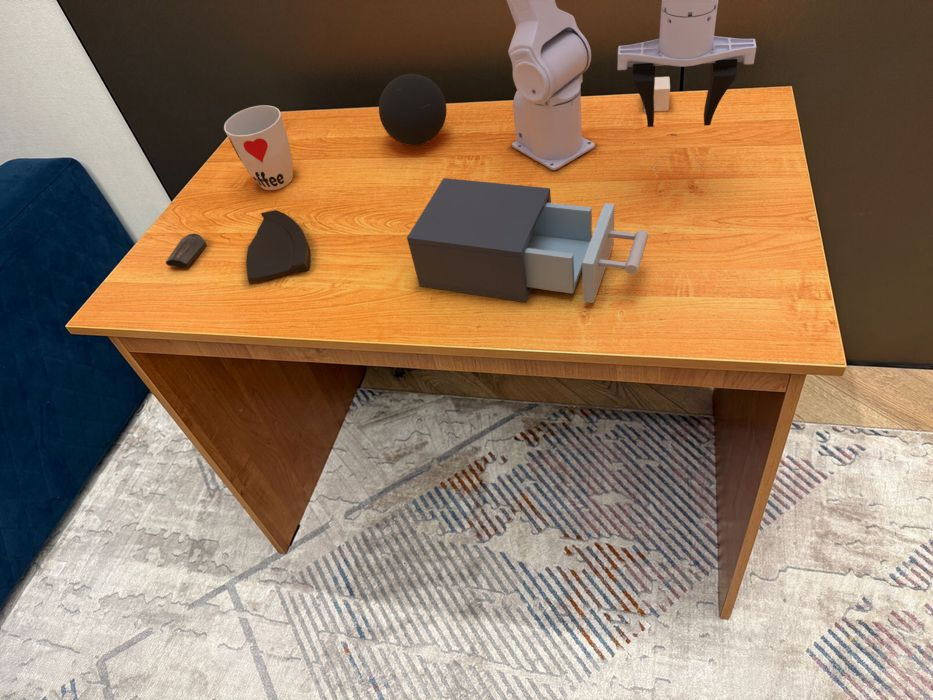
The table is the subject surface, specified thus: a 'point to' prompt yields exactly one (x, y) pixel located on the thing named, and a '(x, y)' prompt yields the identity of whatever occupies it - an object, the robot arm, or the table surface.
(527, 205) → the cabinet
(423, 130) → the black ball
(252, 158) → the cup
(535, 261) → the drawer
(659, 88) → the beige cube
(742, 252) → the table surface
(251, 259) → the dark sector wedge
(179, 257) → the block
